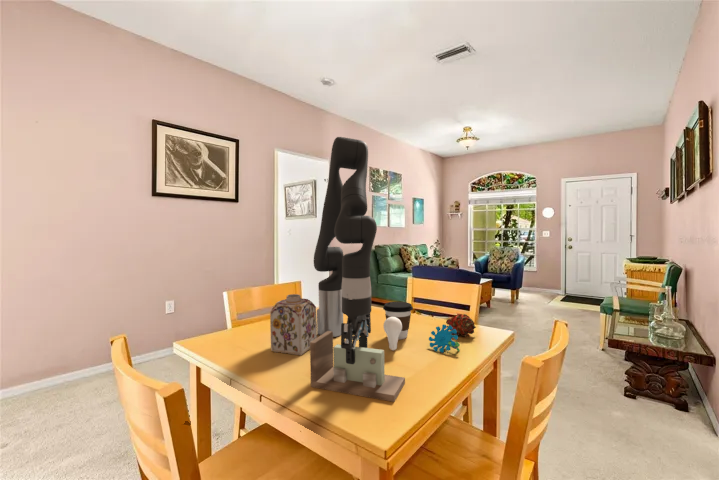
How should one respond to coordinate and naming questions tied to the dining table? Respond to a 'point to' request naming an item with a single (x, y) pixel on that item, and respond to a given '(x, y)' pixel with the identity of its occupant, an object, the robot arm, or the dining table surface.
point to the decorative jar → (293, 325)
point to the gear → (444, 339)
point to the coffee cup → (399, 315)
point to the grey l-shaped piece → (336, 377)
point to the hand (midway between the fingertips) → (357, 357)
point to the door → (361, 363)
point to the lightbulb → (392, 331)
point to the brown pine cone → (461, 324)
